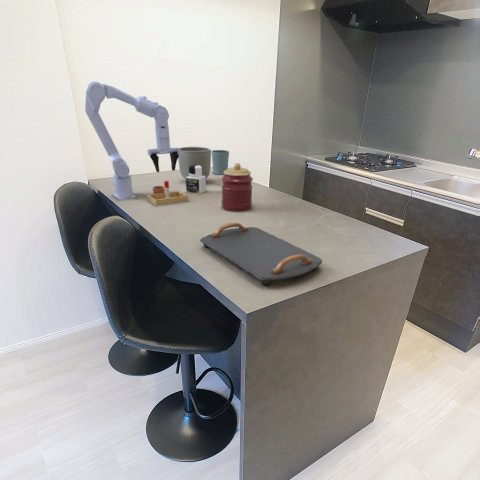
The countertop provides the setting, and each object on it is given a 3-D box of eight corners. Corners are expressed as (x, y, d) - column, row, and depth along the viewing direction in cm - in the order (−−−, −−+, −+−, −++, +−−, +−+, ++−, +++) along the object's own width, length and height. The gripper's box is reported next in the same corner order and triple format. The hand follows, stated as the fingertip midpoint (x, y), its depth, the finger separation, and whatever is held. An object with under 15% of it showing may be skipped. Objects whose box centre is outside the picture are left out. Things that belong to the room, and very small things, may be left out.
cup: (152, 196, 164) (150, 186, 161) (162, 194, 166) (161, 185, 164) (156, 198, 160) (155, 189, 158) (167, 197, 162) (166, 188, 160)
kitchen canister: (257, 207, 152) (260, 163, 143) (237, 213, 145) (238, 167, 135) (236, 201, 160) (236, 159, 150) (215, 206, 152) (214, 162, 142)
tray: (147, 200, 157) (147, 195, 156) (178, 196, 164) (178, 191, 163) (156, 206, 150) (155, 200, 149) (188, 201, 157) (187, 196, 156)
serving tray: (194, 244, 116) (193, 226, 112) (250, 232, 127) (251, 214, 124) (267, 293, 90) (269, 271, 86) (330, 272, 101) (334, 252, 97)
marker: (165, 199, 157) (163, 181, 153) (169, 199, 158) (167, 180, 154) (166, 200, 156) (165, 182, 151) (170, 200, 157) (169, 181, 152)
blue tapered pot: (210, 174, 205) (209, 151, 199) (214, 171, 214) (213, 149, 207) (227, 175, 204) (227, 152, 197) (230, 172, 212) (230, 150, 206)
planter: (194, 176, 199) (192, 145, 190) (218, 181, 191) (217, 149, 182) (172, 182, 187) (169, 149, 178) (196, 187, 179) (195, 153, 170)
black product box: (186, 192, 170) (184, 166, 164) (193, 189, 176) (192, 163, 169) (199, 194, 168) (198, 167, 161) (206, 191, 174) (205, 164, 167)
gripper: (150, 139, 147) (153, 174, 155) (181, 138, 154) (183, 171, 162) (144, 137, 152) (148, 171, 160) (175, 136, 159) (177, 168, 167)
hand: (165, 171), depth 161 cm, fingers open, 7 cm apart
